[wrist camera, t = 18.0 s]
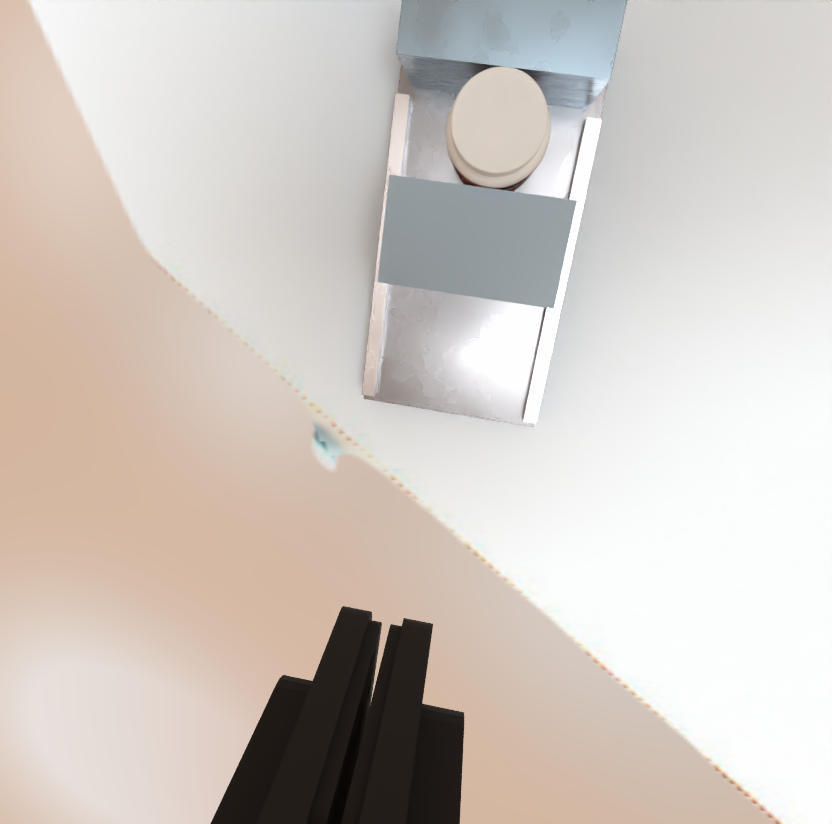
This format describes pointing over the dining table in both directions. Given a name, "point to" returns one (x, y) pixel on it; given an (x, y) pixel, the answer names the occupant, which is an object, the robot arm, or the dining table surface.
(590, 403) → the dining table surface
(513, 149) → the pill bottle
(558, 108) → the vise base
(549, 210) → the plate
